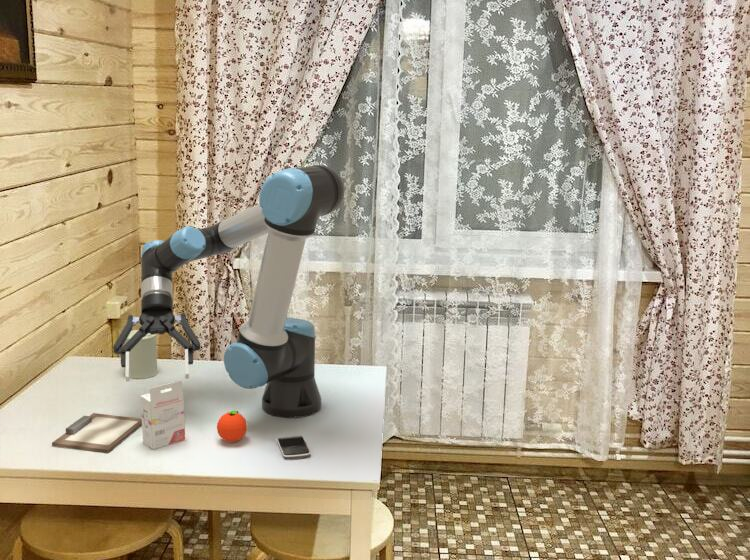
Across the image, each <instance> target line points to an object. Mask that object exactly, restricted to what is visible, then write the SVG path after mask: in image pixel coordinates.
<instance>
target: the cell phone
mask: <svg viewBox="0 0 750 560" xmlns="http://www.w3.org/2000/svg"><path fill="white" fill-rule="evenodd" d="M276 442H277V445H278V448H279V449H280V453H281V455H282V457H283V459H284V460H286V459H290V460H297V459H298V460H300V458H301V459H306V458H307V457H308V458H310V456H311V451H310V449H309V446H308V444H307V443H306V440H305V438H304V437H303V435H295V436H285V437H282V436H281V437H276ZM308 458H307V459H308Z"/></svg>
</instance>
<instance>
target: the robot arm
mask: <svg viewBox="0 0 750 560" xmlns="http://www.w3.org/2000/svg"><path fill="white" fill-rule="evenodd" d="M344 197H345V184H344V181H343V179H342V177H341V176H340V174H339V173H338V172H337V171H336V170H334V168H331V167H329V166H326V165H322V164H317V165H316V164H315V165H310V166H304V167H303V166H302V167H295V168H294V167H292V168H291V167H289V168H284V169H282V170H280V171H276V172H274V173H272V174H271V175H269V176H268V177H267V178H266V179H265V180H264V182H263V183H262V185H261V188H260V191H259V201H258V202H259V203H258V204H255V205H254V206H251V207H249V208H247V209H245V210H243V211H241V212H238V213H235V214H234V215H232V216H230V217H227V218H225V219H223V220H222V221H219V222H217V223H215V224H213V225H210V226H207V227H202V228H197V227H193V226H191V225H187V226H184V227H182V228H181V229H178V230H177V231H175V232H174V233H173V234H172V235H171V236H169V238H167V239H165V240H161V239H154V240H151V241H147V242H146V243H145V244H144V245H143V247H142V248H141V249H142V250H141V257H140V268H141V271H140V273H141V285H140V286H141V288H140V289H141V291H140V296H141V302H140V303H141V304H140V308H141V309H140V316H134V315H132V314H128V315H127V321H126V324H125V326H124V327H123V329H122V331H121V333H120V334H119V335H118V338H117V339H116V341H115V342H114V344H113V346H112V350H113V354H115V355H120V367H121V368H124V367H126V371H125V375H124V378H125V382H130V381H131V380H130V379H131V378H130V354H129V352H130V351H131V350H132V349H133V347H134V346H135V345H136V344H137V343H138V342H139V341H140V340H141V339H142V338H143V337H145V336H146V335H147V334H148V333H150V334H151V335H154V334H156V335H164V334H168V336H170V337H172V338H173V339H174V340H175V341H176V342H177V343H178V344H179V345H180V346H181V347H182V348H183V349H184V368H185V369H184V373H185V376H184V377H185V379H187V380H188V379H190V378H189V376H190V374H189V373H190V372H189V370H190V369H189V365H193V364H194V352H195V351H200V350H201V342H200V341H199V339H198V337H197V336H196V334H195V332H194V331H193V329H192V328H191V326H190V324H189V323H188V321H187V316H186V313H184V312H183V313H181V314H180V315H174V312H173V311H174V308H173V306H174V304H173V273H174V272H175V271H178V270H179V269H180V268H182V267H183V266H184V265H186V264H188V263H190V262H194V261H198V260H202V259H206V258H210V257H212V256H217V255H224V254H227V253H229V252H232V251H234V250H235V249H236V248H237V247H239V246H242V245H244V244H245V243H248V242H250V241H253V240H255V239H257V238H259V237H261V236H264V235H266V234H267V236H266V240H265V245H264V249H263V254H262V259H261V263H260V266H259V267H260V268H259V272H258V276H257V279H256V280H257V281H256V285H255V289H254V293H253V298H252V302H251V307H250V311H249V315H248V319H247V320H248V321H245V322H244V323H242V324H241V325H240V327H239V330H238V335H237V338H236V339H237V340H236V342H233V343H231V344H230V345H229V346H227V348H226V349H225V351H224V354H223V364H224V368H225V371H226V373H227V375H228V376H229V378H230V379H231V381H232V382H233V383H234V384H236V385H237V386H239V387H241V388H243V389H247V390H254V389H256V388H260V387H263V386H265V388H264V391H263V395H262V397H261V407H262V408H261V409H262V410H263V411H264V412H265V413H267V414H269V415H271V416H275V417H281V418H301V417H307V416H310V415H313V414H316V413H317V412H319V409H321V408H322V397H321V396H322V395H321V394H320V390H319V387H318V385H317V382H316V378H315V369H316V367H315V365H316V361H315V359H316V358H315V357H316V331H315V326H314V323H312V322H311V321H309V320H306V319H302V318H295V317H288V314H289V310H290V305H291V302H292V296H293V292H294V288H295V284H296V281H297V277H298V273H299V268H300V266H301V265H300V264H301V261H302V257H303V253H304V248H305V243H306V240H307V239H308V238H310V237H312V236H314V234H315V232H316V228H317V223H318V220H319V217H323V216H326V215H329V214H331V213H333V212H335V211H336V210H337V209H338V208H339V207H340V205H342V203H343V200H344ZM175 322H177V324H178V325H181V327H182V329H183V331H184V333H185V335H186V336H187V338H188V339H189V340H188V339H187V338H186V337H185V336H184V335H182V334H181V332H180V331H178V330H177V328H175V326H174V324H175ZM138 323H139V324H140V327H139V329H137V330H138V331H137V332H136V333H135V334H134V335H133V336H132V337H131V339H130V340H129V341H128V342H127V343H126V344H125V345H124V346H123V344H124V343H125V341H126V339H127V337H128V336H129V334H130V332H131V331H132V330H133V327H136V325H137V324H138Z"/></svg>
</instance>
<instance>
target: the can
mask: <svg viewBox="0 0 750 560" xmlns="http://www.w3.org/2000/svg"><path fill="white" fill-rule="evenodd" d="M138 330H139V329H134V330H133V329H132V330H131V332H130V334H129V336H128V337H127V339H126V341H125V343H124V344H123V346H124V345H125V344H126V343H127V342H128V341H129V340H130V339H131V337H132V336H133V335H134V334H135V333H136V332H137V331H138ZM123 346H122V347H123ZM157 352H158V351H157V334H154V335H151V334H150V333H148V334H147V335H146V336H145V337H143V338H142V339H141V340H140V341H139V342H138V343H137V344H136V345H135V346H134V347H133V349H132V350H131V351H130V352H129V354H130V379H131V378H132V379H131V380H135V379H136V380H142V379H144V378H145V379H149V378H153V377H156V376H157V375H158V374H159V369H158V355H157ZM123 368H124V372H123V373H124V374H123V375H124V376H125V371H126V367H123ZM145 379H144V380H145Z"/></svg>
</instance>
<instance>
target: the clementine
mask: <svg viewBox="0 0 750 560" xmlns="http://www.w3.org/2000/svg"><path fill="white" fill-rule="evenodd" d="M216 430H217V434H218V436H219V437H220V438H221V439H222V440H224V441H225V442H228V443H236V442H238V441H240V440H242V439H243V437H245V435H246V433H247V430H248V424H247V420H246V419H245V417H244V416H243V415H242V414H240V413H239V410H230V411H228V412H226V413H224V414H222V415H221V416H220V418H219V419H218V421H217V423H216Z"/></svg>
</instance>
